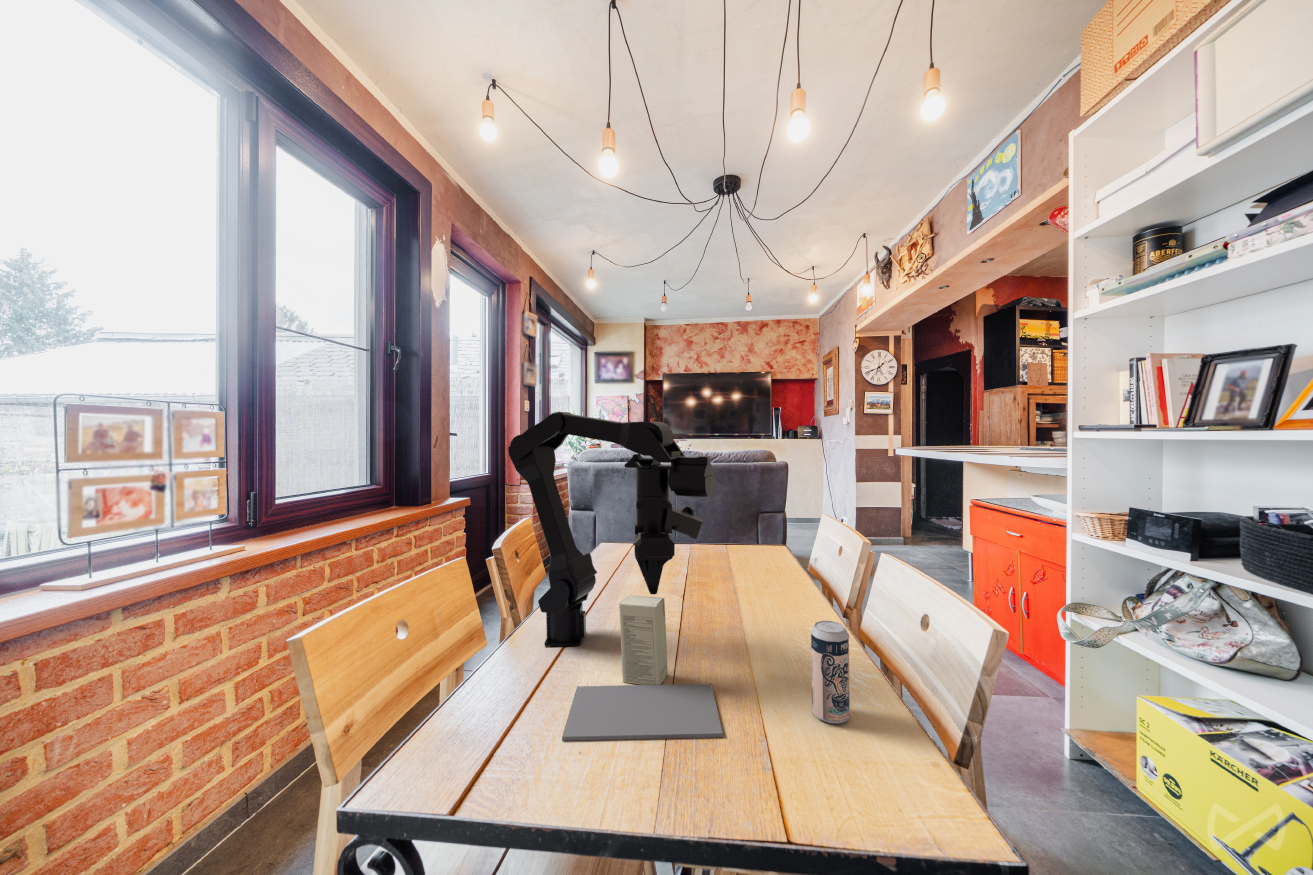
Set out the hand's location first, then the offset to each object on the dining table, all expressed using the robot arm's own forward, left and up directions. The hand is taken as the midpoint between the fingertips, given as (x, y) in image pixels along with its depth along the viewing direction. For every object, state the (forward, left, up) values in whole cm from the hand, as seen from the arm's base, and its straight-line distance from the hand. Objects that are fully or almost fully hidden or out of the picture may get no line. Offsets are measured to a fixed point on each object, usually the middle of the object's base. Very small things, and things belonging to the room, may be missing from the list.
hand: (652, 584), depth 83 cm
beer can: (+24, -19, -12) cm, 33 cm away
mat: (-1, -17, -12) cm, 21 cm away
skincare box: (-1, -8, -12) cm, 15 cm away
